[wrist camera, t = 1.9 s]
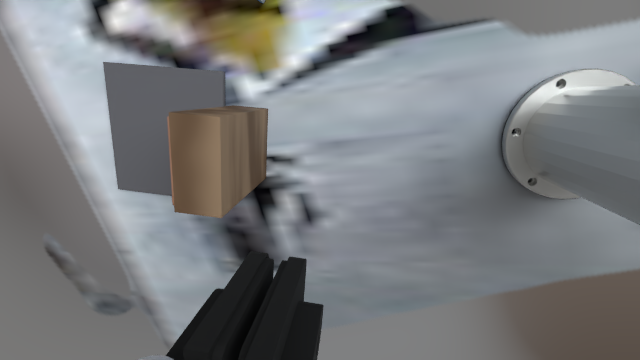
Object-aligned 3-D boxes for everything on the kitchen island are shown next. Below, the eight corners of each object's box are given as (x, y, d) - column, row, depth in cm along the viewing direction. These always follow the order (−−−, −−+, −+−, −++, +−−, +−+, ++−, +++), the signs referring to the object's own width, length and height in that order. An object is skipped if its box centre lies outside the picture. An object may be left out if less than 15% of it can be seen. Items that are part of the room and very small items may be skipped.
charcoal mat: (225, 71, 33) (223, 71, 32) (226, 200, 37) (224, 202, 37) (106, 62, 34) (103, 62, 34) (121, 187, 39) (118, 188, 38)
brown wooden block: (267, 108, 33) (220, 117, 22) (266, 177, 36) (221, 218, 24) (229, 105, 34) (163, 111, 22) (230, 173, 36) (169, 211, 25)
